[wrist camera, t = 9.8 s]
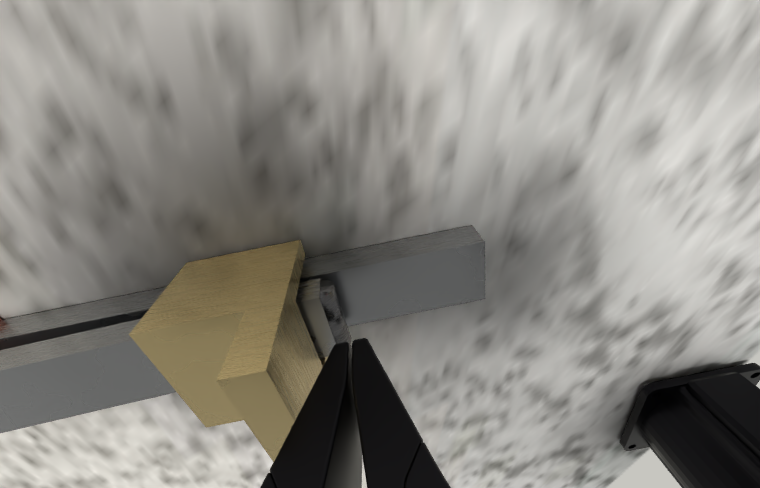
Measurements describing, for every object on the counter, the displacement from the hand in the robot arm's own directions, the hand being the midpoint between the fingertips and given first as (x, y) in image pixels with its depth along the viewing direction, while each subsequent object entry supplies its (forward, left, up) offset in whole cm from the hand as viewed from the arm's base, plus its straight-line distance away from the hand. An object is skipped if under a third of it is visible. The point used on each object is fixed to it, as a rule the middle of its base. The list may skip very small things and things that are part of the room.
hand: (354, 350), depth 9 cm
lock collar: (0, +3, -4) cm, 5 cm away
